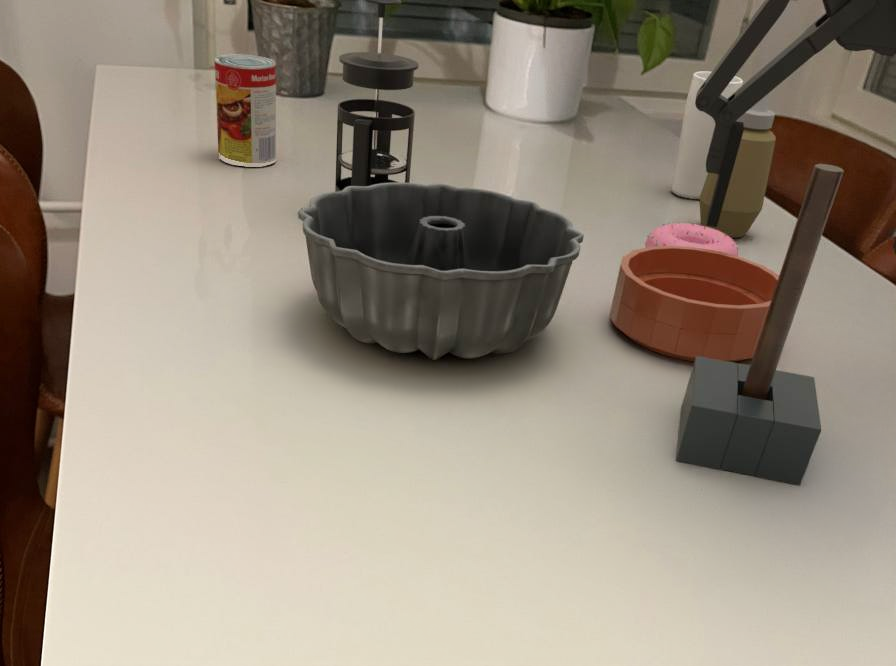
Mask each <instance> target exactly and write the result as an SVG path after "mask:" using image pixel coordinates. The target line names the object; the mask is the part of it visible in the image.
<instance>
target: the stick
mask: <svg viewBox="0 0 896 666" xmlns="http://www.w3.org/2000/svg"><path fill="white" fill-rule="evenodd" d="M843 174H844V169H843V168H842V167H840V166H836V165H833V164H832V165H831V164H826V163H817V164H815V165H814V167H813V170H812V173H811V176H810V179H809V183H808V185H807V189H806V190H805V191H806V192H805V195H804V198H803V201H802V204H801V206H800V207H801V208H800V210H799V213H798V215H797V220H796V223H795V225H794V229H793V232H792V235H791V238H790V242H789V244H788V247H787V250H786V254H785V257H784V259H783V263H782V266H781V269H780V272H779V274H778V275H779V278H778V281H777V284H776V287H775V290H774V294H773V297H772V300H771V303H770V306H769V309H768V312H767V315H766V318H765V321H764V325H763V328H762V331H761V334H760V337H759V340H758V343H757V346H756V349H755V352H754V355H753V358H751V362H750V364H749V365H750V368H749V371H748V374H747V377H746V380H745V383H744V386H743V390H742V393H741V396H746V397H752V398H757V399H762V400H766V397H767V394H768V391H769V388H770V385H771V382H772V380H773V377H774V374H775V371H776V370H777V367H778V365H779V362H780V359H781V356H782V353H783V350H784V347H785V345H786V341H787V338H788V336H789V334H790V330H791V327H792V324H793V321H794V318H795V315H796V312H797V309H798V306H799V303H800V300H801V297H802V295H803V293H804V288H805V285H806V282H807V280H808V277H809V275H810V272H811V268H812V265H813V262H814V259H815V256H816V255H817V251H818V248H819V245H820V242H821V239H822V236H823V233H824V230H825V227H826V224H827V221H828V219H829V215H830V213H831V209H832V207H833V204H834V201H835V198H836V195H837V192H838V189H839V186H840V183H841V180H842V177H843Z"/></svg>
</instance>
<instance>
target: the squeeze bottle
mask: <svg viewBox="0 0 896 666" xmlns="http://www.w3.org/2000/svg"><path fill="white" fill-rule="evenodd" d="M769 97H770V92H769V93H768V94H767V95H766V96H765V97H764V98H762V99H761V100H760V101H759V102H758V103H756V104H755V105H754V106H753V107H752V108H750V109H749V110H748V111H747V112H746V113H744V114H743V115H742V116H741V117H740V118H739V119H737V120H736V121H739V122H744V131H743V135H742V138H741V142H740V146H739V149H738V153H737V156H736V160H735V164H734V167H733V171H732V174H731V178H730V182H729V185H728V189H727V192H726V196H725V200H724V203H723V207H722V210H721V214H720V218H719V221H718V225H717V227H712V226H707V215H708V211H709V208H710V204H711V200H712V196H713V193H714V189H715V185H716V182H717V178H718V174H714V173H708V174H707V177H706V180H705V183H704V186H703V188H702V191H701V194H700V199H699V217H700V218H699V219H700V224H701V226H705V227H709V228H712V229H715V230H718V231H720V232H722V233H724V234H726V235H729V237H730V238H732V239H734V238H743V237H745V236H747V233H749V230H750V229H751V227H752V225H753V224H754V222H755V220H756V219H757V218H758V216H759V215H760V213H761V212H762V210H763V206H764V201H765V196H766V191H767V187H768V181H769V176H770V171H771V166H772V161H773V156H774V151H775V146H776V141H777V138H776V135H775V134H774V132H773V131H771V130H770V129H772V127H773V123H774V120H775V116H776V112H774V111H772V110H770V109H769Z"/></svg>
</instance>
